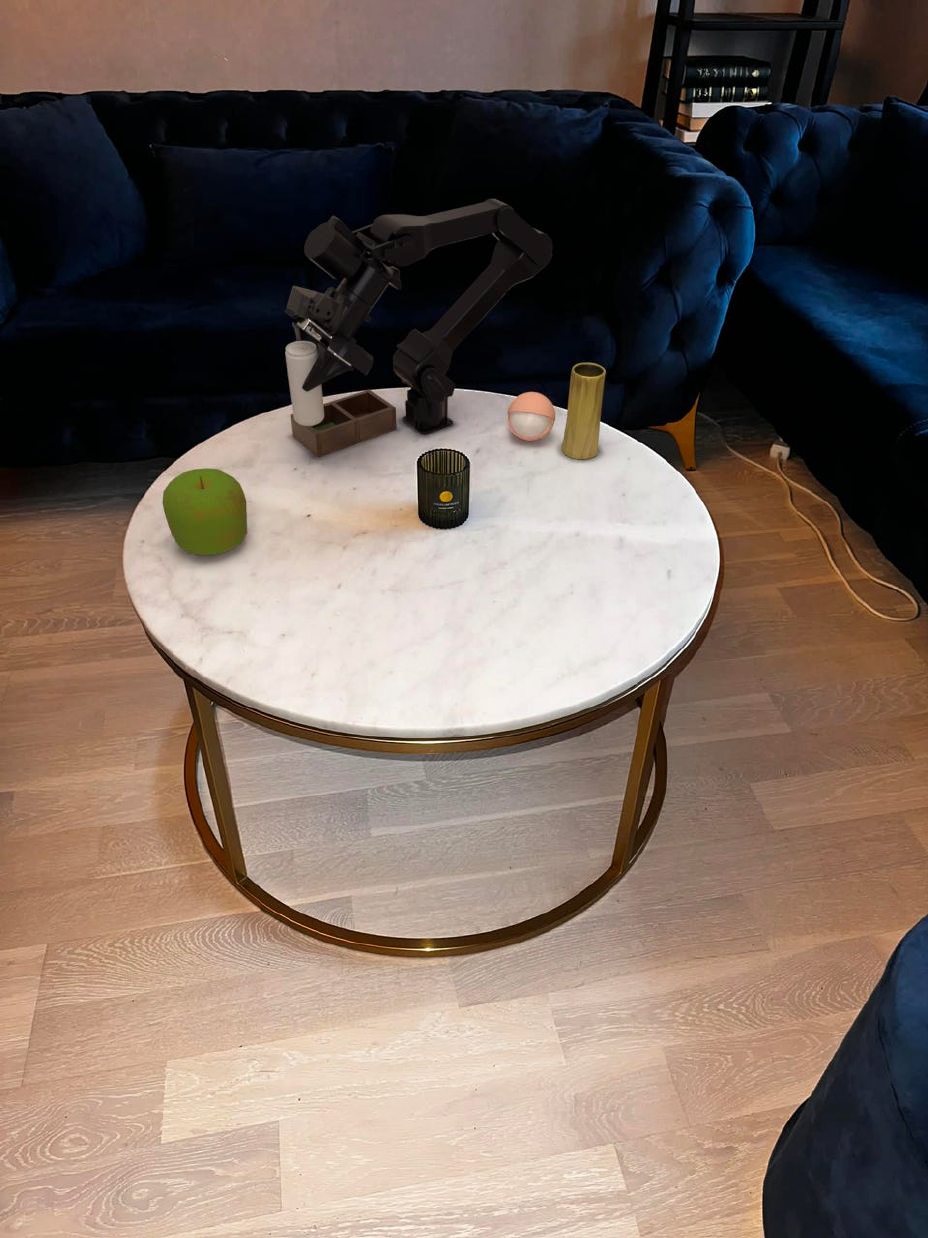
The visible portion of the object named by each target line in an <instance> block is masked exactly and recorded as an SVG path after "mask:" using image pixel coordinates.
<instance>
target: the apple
mask: <svg viewBox="0 0 928 1238" xmlns="http://www.w3.org/2000/svg"><path fill="white" fill-rule="evenodd" d="M161 503H162V507H163V513H164V516H165V519H166V522H167V525H168V528H169V531H170V532H171V536H172V538H173V540H174V542H175V543H176V545H177V546H178V547H179V548H180V549H181V550H183V551H185V552H188V553H189V554H195V555H201V556H211V555H219V554H223V553H225V552H228V551H230V550H233V549H234V548H236V547H237V546H238V545H240V544H241V543H242V542H243V540H244V539H245V537H246V536H247V534H248V512H247V510H248V509H247V499H246V496H245V492H244V490H243V488H242V485H241V483H240V482H239V481H238V480H237V479H236V478H235V477H234V476H232V475H230V474H229V473H227V472H225V471H223V470H221V469H219V468H207V467H206V468H196V469H195V468H194V469H191V470H187V471H183V472H181V473H180V474H178V475H177V476H175V477H174V478H173V479H172V480H171V481H170V482H169V483H168V484H167V486H166V487H165V489H164V490H163V494H162V502H161Z"/></svg>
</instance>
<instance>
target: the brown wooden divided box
mask: <svg viewBox="0 0 928 1238" xmlns="http://www.w3.org/2000/svg"><path fill="white" fill-rule="evenodd" d="M323 407H324V418H323V420H322V421H321V422H320V423H318V424H316V425H313V426H304V425H300V424H299V423H297V422H296V421H295V420H294V417H293V413H291V414H290V423H291V425H290V426H291V434H292V437H293V438H294V439H295V440H296V441H297V442H299V443H300V444H301V445H302V446H304V447H305V448H306V449H307V450H308V451H309V452H311V453H312V454H313V455H314V456H316V457H317V458H320V457H322V456H325V455H328V454H332V453H333V452H336V451H337V452H338V451H340V450H342V449H345V448H349V447H351V446H353V445H356V444H360V443H362V442H365V441H368V440H372V439H373V438H377V437H380V436H383V435H385V434H388V433H391V432H394V431H396V430H397V407H395V406H394V405H393V404H392V403H390V402H389V401H387V400H385V399H384V398H382V397H381V396H380V395H379V394H377V393H376V392H374V391H372V390H371V389H366V390H363V391H360V392H357V393H354V394H350V395H347V396H344V397H341V398H338V399H335V400H332V401H329V402H325V403H323Z"/></svg>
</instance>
